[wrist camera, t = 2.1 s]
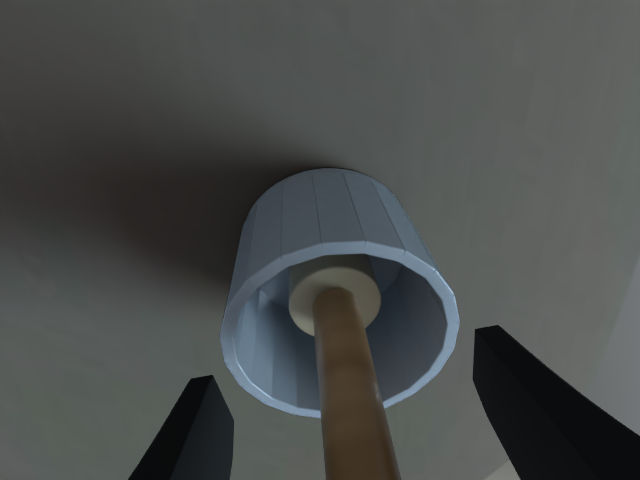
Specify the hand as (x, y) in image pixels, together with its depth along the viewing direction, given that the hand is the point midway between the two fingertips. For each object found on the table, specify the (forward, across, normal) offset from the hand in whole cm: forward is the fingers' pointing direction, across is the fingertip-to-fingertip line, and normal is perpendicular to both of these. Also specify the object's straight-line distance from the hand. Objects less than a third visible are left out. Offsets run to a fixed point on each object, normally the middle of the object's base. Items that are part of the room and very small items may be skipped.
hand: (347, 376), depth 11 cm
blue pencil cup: (+7, 0, 0) cm, 7 cm away
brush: (+7, 0, 0) cm, 7 cm away
